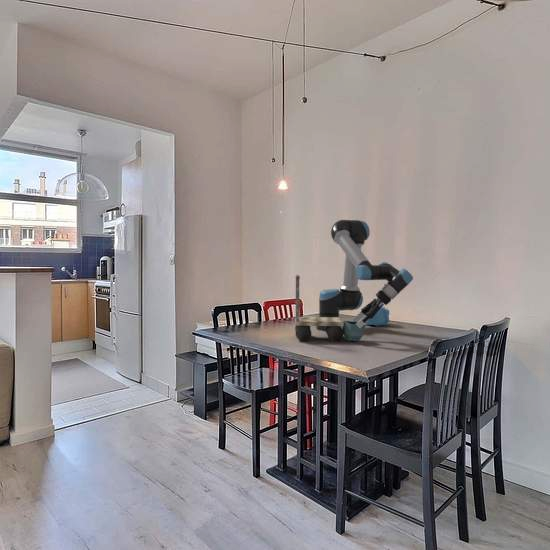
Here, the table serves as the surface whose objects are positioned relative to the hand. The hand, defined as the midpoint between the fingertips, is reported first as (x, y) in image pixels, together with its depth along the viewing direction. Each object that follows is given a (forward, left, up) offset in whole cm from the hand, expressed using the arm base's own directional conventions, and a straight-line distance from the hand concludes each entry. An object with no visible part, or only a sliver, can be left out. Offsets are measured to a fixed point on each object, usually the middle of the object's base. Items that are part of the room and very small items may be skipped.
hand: (355, 324), depth 201 cm
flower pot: (+2, -1, -8) cm, 9 cm away
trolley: (+15, -12, -9) cm, 21 cm away
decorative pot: (-37, -41, -9) cm, 56 cm away
